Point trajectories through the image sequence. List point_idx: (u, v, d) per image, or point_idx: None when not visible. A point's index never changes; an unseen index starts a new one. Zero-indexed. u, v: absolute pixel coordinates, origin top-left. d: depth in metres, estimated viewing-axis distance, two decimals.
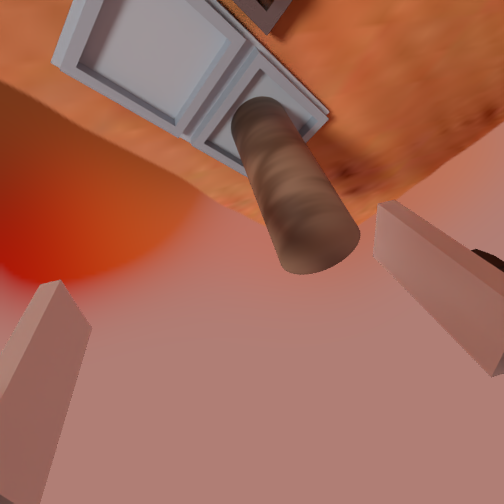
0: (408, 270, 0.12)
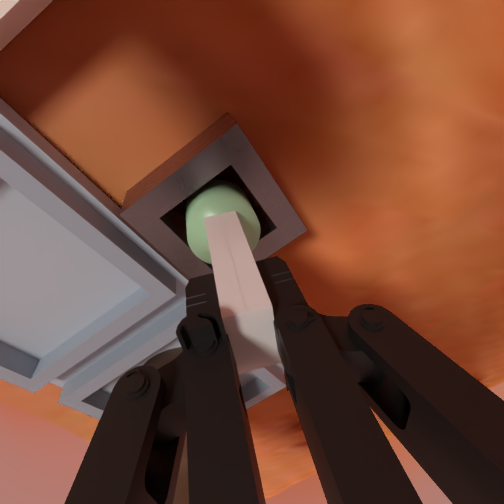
0: None
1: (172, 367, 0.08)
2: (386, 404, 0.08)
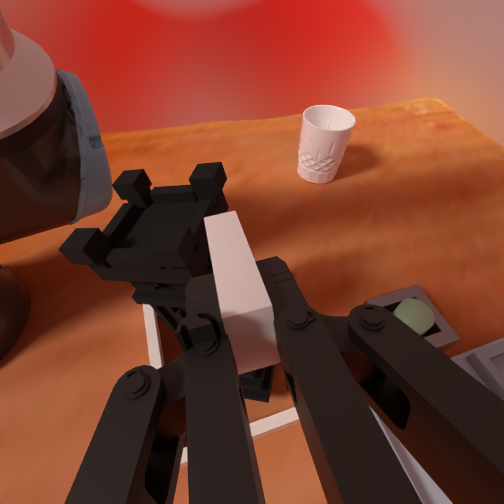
0: None
1: (172, 367, 0.08)
2: (386, 404, 0.08)
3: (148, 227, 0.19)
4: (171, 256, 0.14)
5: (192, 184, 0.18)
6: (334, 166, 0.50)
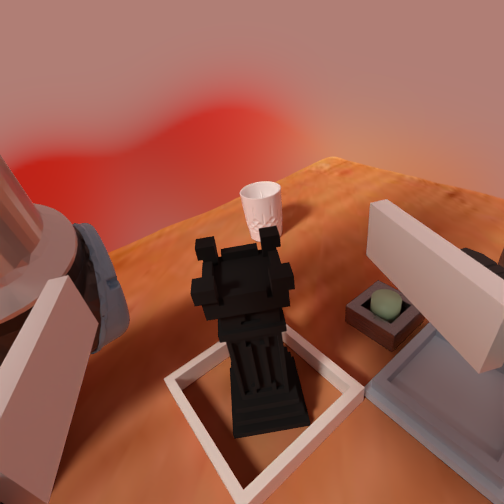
0: (400, 268, 0.12)
1: None
2: None
3: (231, 276, 0.25)
4: (287, 281, 0.21)
5: (262, 241, 0.26)
6: (278, 223, 0.61)
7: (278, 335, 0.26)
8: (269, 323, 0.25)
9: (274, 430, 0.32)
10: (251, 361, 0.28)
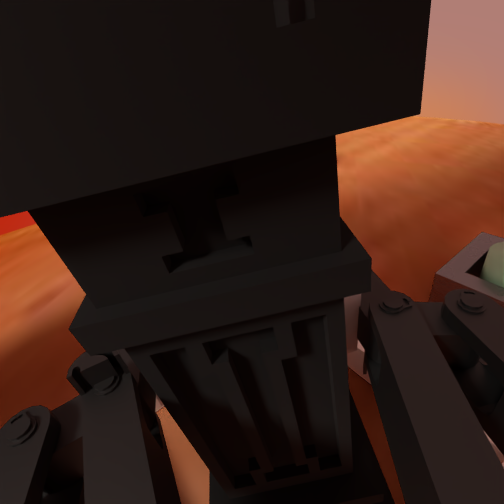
0: None
1: (73, 405, 0.08)
2: (471, 390, 0.08)
3: None
4: None
5: None
6: None
7: (330, 314, 0.07)
8: (292, 260, 0.06)
9: None
10: (238, 408, 0.08)
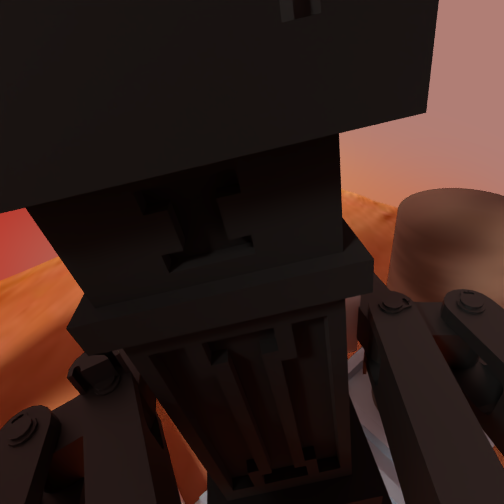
0: None
1: (73, 405, 0.08)
2: (471, 390, 0.08)
3: None
4: None
5: None
6: None
7: (331, 315, 0.07)
8: (293, 260, 0.06)
9: None
10: (237, 409, 0.08)
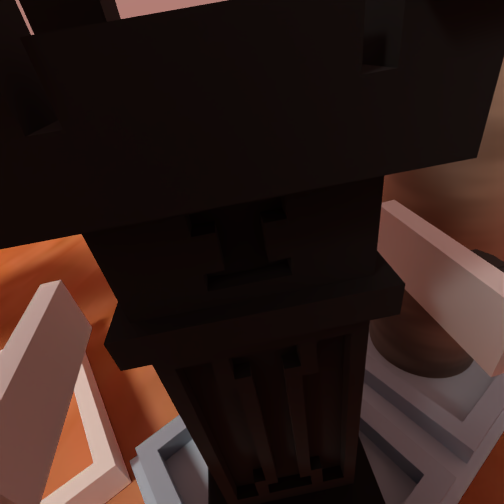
0: (408, 270, 0.12)
1: None
2: None
3: None
4: None
5: None
6: None
7: (355, 333, 0.07)
8: (327, 282, 0.06)
9: None
10: (253, 421, 0.08)
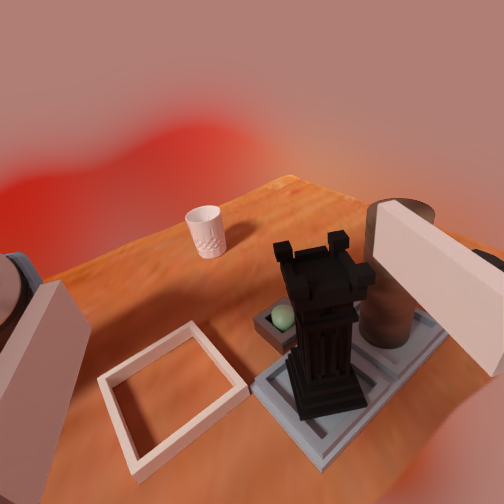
0: (408, 270, 0.12)
1: None
2: None
3: (309, 275, 0.29)
4: (370, 278, 0.25)
5: (334, 244, 0.30)
6: (220, 242, 0.70)
7: (349, 326, 0.30)
8: (343, 315, 0.29)
9: (335, 412, 0.36)
10: (322, 350, 0.32)
